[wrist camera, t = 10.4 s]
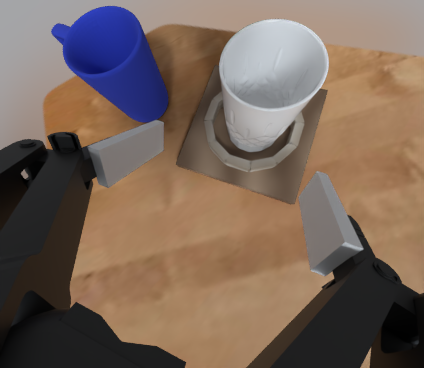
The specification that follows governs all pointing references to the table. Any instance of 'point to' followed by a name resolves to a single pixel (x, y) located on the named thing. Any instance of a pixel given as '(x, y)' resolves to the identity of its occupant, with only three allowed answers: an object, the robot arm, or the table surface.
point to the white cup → (269, 79)
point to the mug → (115, 61)
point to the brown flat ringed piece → (249, 161)
